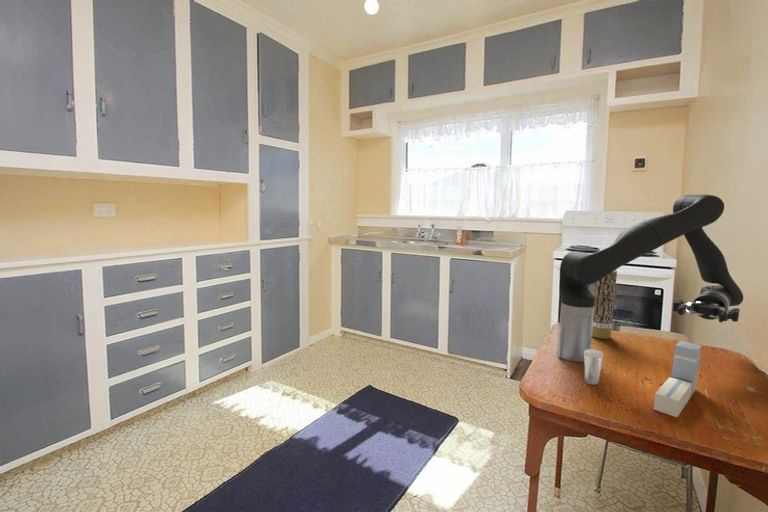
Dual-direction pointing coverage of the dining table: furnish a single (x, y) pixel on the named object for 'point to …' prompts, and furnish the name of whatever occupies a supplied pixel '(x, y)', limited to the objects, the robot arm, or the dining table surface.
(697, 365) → the tall grey box
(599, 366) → the milkshake
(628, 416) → the dining table surface
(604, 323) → the paper tube
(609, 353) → the dining table surface
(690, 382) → the white striped box
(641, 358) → the dining table surface
